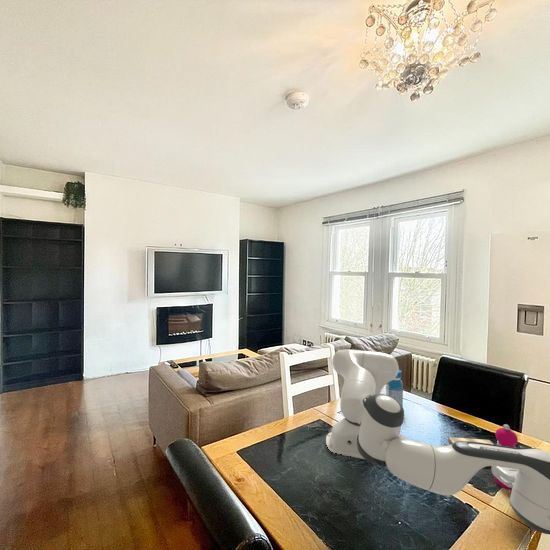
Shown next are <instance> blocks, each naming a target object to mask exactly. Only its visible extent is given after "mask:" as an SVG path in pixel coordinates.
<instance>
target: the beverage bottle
mask: <svg viewBox="0 0 550 550" xmlns="http://www.w3.org/2000/svg"><path fill="white" fill-rule="evenodd" d="M401 378H402V370H400V369H399V370H398V374H397V376H396V377H395V378H394V379H393V380H392V381H390V382H388V383H387V384H386V385H385V392H386V393H385V395H389V396H391V397H393V398H395V399H396V400H397V401H398V402H399V403H400V404H401V405H402V407H403V405H404V404H403V402H404V401H403V397H404V396H403V395H404V388H403V386H404V383H403V380H402V379H401ZM403 408H404V407H403Z"/></svg>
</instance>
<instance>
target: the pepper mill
mask: <svg viewBox="0 0 550 550" xmlns="http://www.w3.org/2000/svg"><path fill="white" fill-rule="evenodd" d="M494 435H495V439H496V440H497V441H496V442H497V443H496V445H501V446H508V447H515V448H517V446H516V445H517V444H518V441H519V439H518V438H519V437H518V436H517V434H516V432H514V431H513V430H511V427H510V426H509V424H507V423H506V424H503V425H502V427H499V428H497V429H496V431H495V434H494ZM493 476H494V475H493ZM493 478H494V479H493V480H494V482H495V483H496V484H497V485H498V486H499V487H501V488H503V489H505V490H510V491H512V488H510V487H508V486H506V485H505V484H503V483H502V482H501V481H500V480H499V479H497V478H496V477H495V476H494V477H493Z"/></svg>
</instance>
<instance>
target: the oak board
mask: <svg viewBox="0 0 550 550" xmlns="http://www.w3.org/2000/svg"><path fill="white" fill-rule="evenodd" d="M447 440H448V442H449V444H450V445H452V444H453V443H455V442H456V441H471V442H480V443H487V444H494V443H493V441H491V440H490V439H480V438H479V439H478V438H467V437H466V438H465V437H454V436H453V437H452V436H451V437H450V436H448V437H447ZM489 467H491V466H489Z"/></svg>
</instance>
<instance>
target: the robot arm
mask: <svg viewBox="0 0 550 550" xmlns="http://www.w3.org/2000/svg"><path fill="white" fill-rule="evenodd" d="M331 360H332V362H331V363H332V367H333V370H334V371H335V372H336V373H337V374H338V375H340V376H341V377H342V378H343V380H344V381H343V384H342V385H343V386H342V388H341V392H340V398H339V399H340V403H339V404H340V411H341V412H340V413H341V414H342V415H343V417H344V418H342V419H340V420H339V421H337V422H335V423H334V424H333V426H332V428H331V432H329V433H328V434H326V437H325V446H326V445H327V446H326V448H327V447H328V449H329V450H330V451H331V452H333V453H332V454H335V453H337V455H340V454H342V455H341V456H347V457H350V456H351V457H352V458H356V459H361V460H365V461H367V462H369V463H370V464H373V465H375V466H379V467H387V470H388V471H389V472H390V473H391V474H392V475H393V476H395V477H397V478H399V479H401V480H402V481H404V482H406V483H407V484H411V485H412V486H415V487H418V488H419V489H423V490H425V491H428V492H431V493H434V494H438V495H441V496H453V495H456V494H458V493H460V492H461V491H462V490H463V489H465V487H467V485H468V483H469V482H470V481H471V479H472V478H473V477H474V476H475V475H476V474H477V473H478V472H479V471H481V469H483V468H486V467H490V466H491V473H492V475H493V476H495V477H496V478H497V479H499V480H500V481H501V482H502V483H503V484H505V485H506V486H508V487H510V488H512V490H511V493H510V496H509V504H510V506H511V509H512V510H513V512H514V513H515V514H516V515H517V517H518V518H519V519H521V521H522V522H524V523H525V525H527V526H528V527H529V528H531V529H532V530H534V531H535V532H539V533H542V534H545V535H550V452H549V451H547V450H544V449H540V448H535V447H516V448H515V447H508V446H501V445H497V444H494V443H493V444H487V443H480V442H471V441H456V442H455V443H453V444H452V445H451V444H449V445H448V444H447V445H441V446H440V445H439V446H437V445H433V444H428V443H425V442H421V441H417V440H413V439H408V438H406V437H405V436H403V435H402V434H401V433H400V432H401V431H402V425H403V424H404V420H405V410H404V407H402V405H401V404H400V403H399V402H398V401H397V400H396V399H395V398H393V397H391V396H389V395H386V393H385V394H384V393H381V392H382V390H383V388H385V387H386V385H387V383H388V382H390V381H392V380H393V379H394V378H395V377H396V376H397V374H398V370H400V367H399V363H398V361H397V359H396V357H395V356H394V355H391V354H388V353H385V352H381V351H372V350H361V349H349V348H347V349H346V348H345V349H339V350H336V352H335V353H334V355H333V357H332V359H331ZM328 449H327V450H328ZM329 450H328V451H329ZM330 451H329V452H330ZM331 452H330V453H331Z"/></svg>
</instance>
